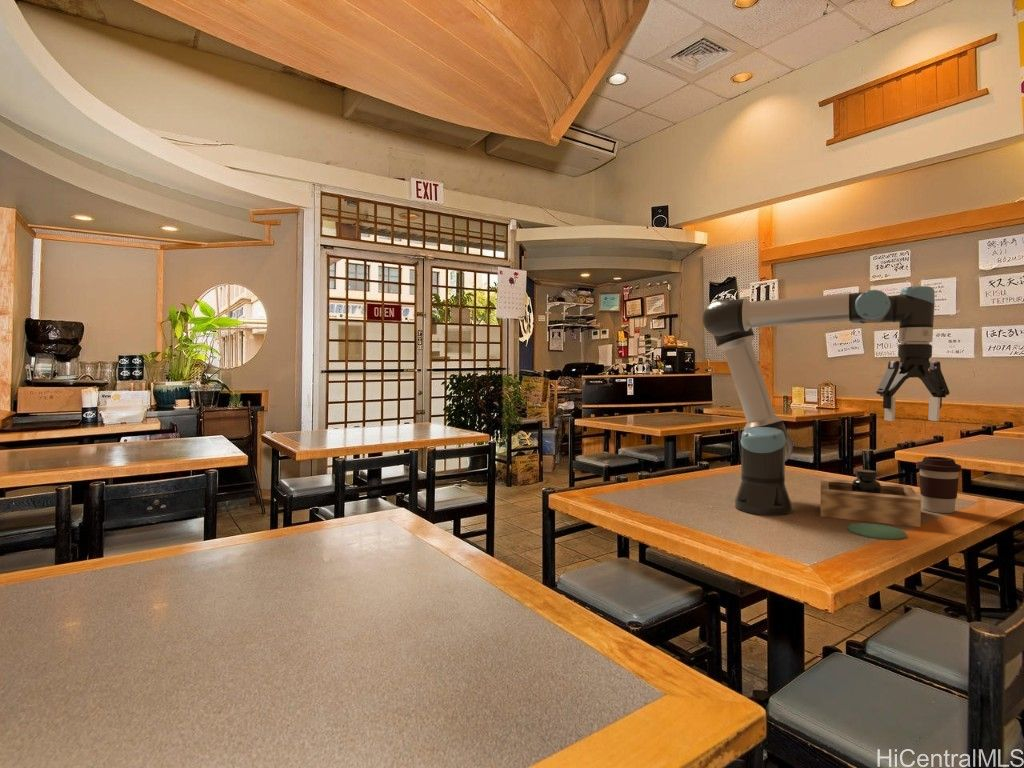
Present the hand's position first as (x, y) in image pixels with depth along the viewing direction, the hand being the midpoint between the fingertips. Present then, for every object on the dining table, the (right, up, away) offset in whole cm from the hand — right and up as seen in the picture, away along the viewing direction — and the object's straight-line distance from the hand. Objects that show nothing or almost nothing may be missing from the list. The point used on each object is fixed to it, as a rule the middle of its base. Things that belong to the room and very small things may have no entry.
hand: (911, 420), depth 151 cm
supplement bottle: (-10, -27, +4) cm, 29 cm away
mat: (-19, -27, -14) cm, 36 cm away
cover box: (-10, -26, +4) cm, 28 cm away
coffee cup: (+11, -26, +5) cm, 29 cm away
